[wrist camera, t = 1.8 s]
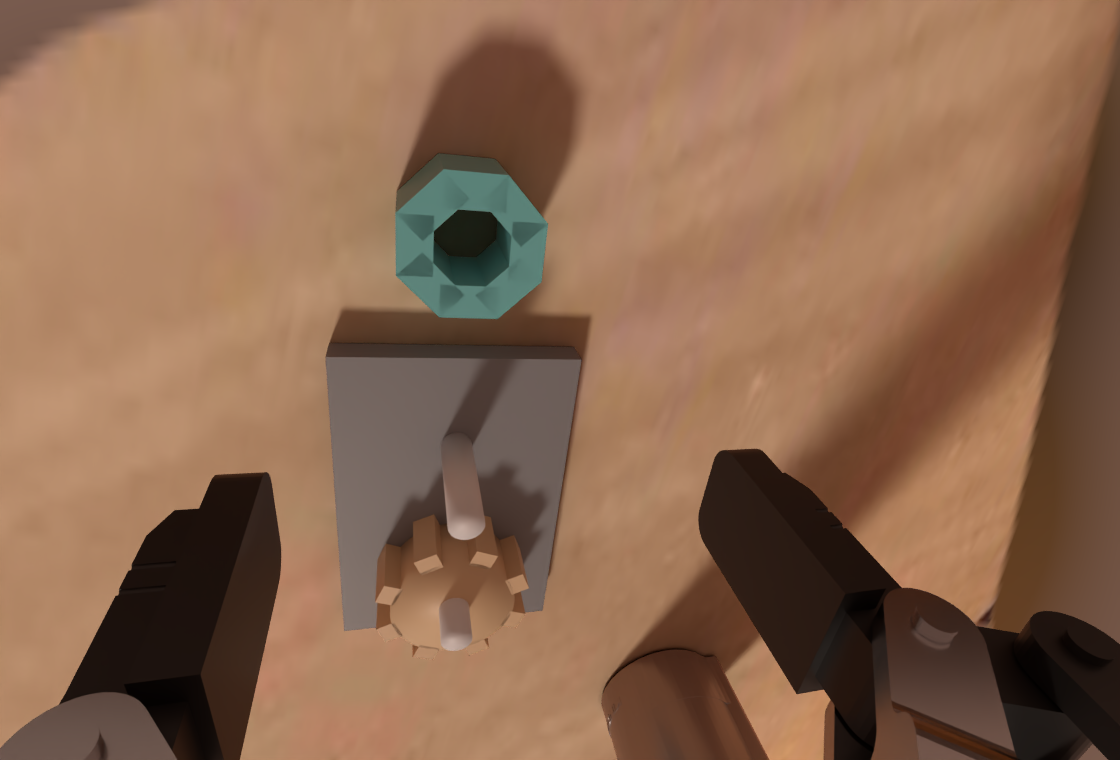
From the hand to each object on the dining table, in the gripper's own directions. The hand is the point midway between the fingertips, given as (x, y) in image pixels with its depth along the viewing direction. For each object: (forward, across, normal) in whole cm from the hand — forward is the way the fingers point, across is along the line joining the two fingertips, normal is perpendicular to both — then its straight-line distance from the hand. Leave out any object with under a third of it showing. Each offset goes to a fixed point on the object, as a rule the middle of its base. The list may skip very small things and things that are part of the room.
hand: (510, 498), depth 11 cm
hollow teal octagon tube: (+18, -1, 0) cm, 19 cm away
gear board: (+18, -1, +15) cm, 24 cm away
